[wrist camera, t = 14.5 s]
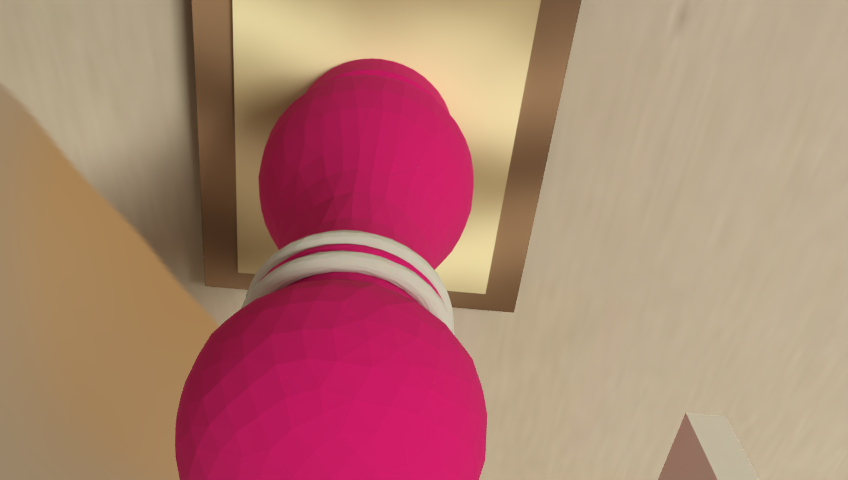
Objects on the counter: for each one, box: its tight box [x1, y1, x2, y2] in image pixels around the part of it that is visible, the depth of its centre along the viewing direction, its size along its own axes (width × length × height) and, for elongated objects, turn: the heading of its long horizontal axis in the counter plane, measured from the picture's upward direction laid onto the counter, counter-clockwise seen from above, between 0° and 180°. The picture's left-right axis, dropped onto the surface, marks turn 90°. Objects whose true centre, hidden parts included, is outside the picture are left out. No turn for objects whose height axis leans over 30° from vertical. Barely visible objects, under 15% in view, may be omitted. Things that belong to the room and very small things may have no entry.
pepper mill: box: [175, 58, 487, 480], centre depth 19 cm, size 7×7×20 cm
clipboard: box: [192, 0, 581, 312], centre depth 28 cm, size 16×14×2 cm
